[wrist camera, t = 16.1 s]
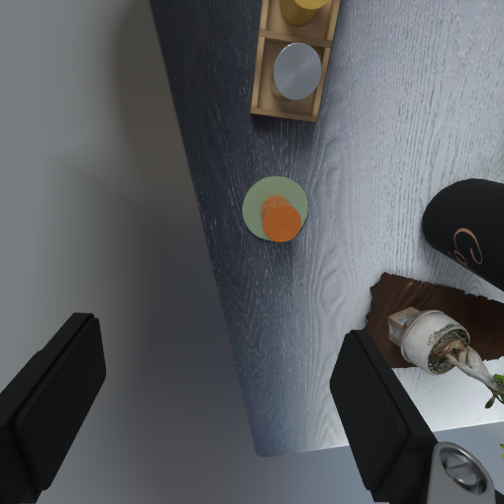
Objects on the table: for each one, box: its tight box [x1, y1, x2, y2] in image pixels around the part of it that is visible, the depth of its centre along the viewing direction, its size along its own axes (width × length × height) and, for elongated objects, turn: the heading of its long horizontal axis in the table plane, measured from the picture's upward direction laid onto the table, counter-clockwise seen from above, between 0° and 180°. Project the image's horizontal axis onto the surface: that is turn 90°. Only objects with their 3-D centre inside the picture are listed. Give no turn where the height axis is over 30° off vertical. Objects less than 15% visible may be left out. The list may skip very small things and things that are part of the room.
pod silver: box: [269, 43, 322, 102], centre depth 28 cm, size 5×5×6 cm
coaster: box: [242, 176, 308, 241], centre depth 37 cm, size 9×9×1 cm
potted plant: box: [363, 272, 504, 458], centre depth 39 cm, size 20×19×25 cm
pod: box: [260, 196, 301, 242], centre depth 34 cm, size 5×5×6 cm
